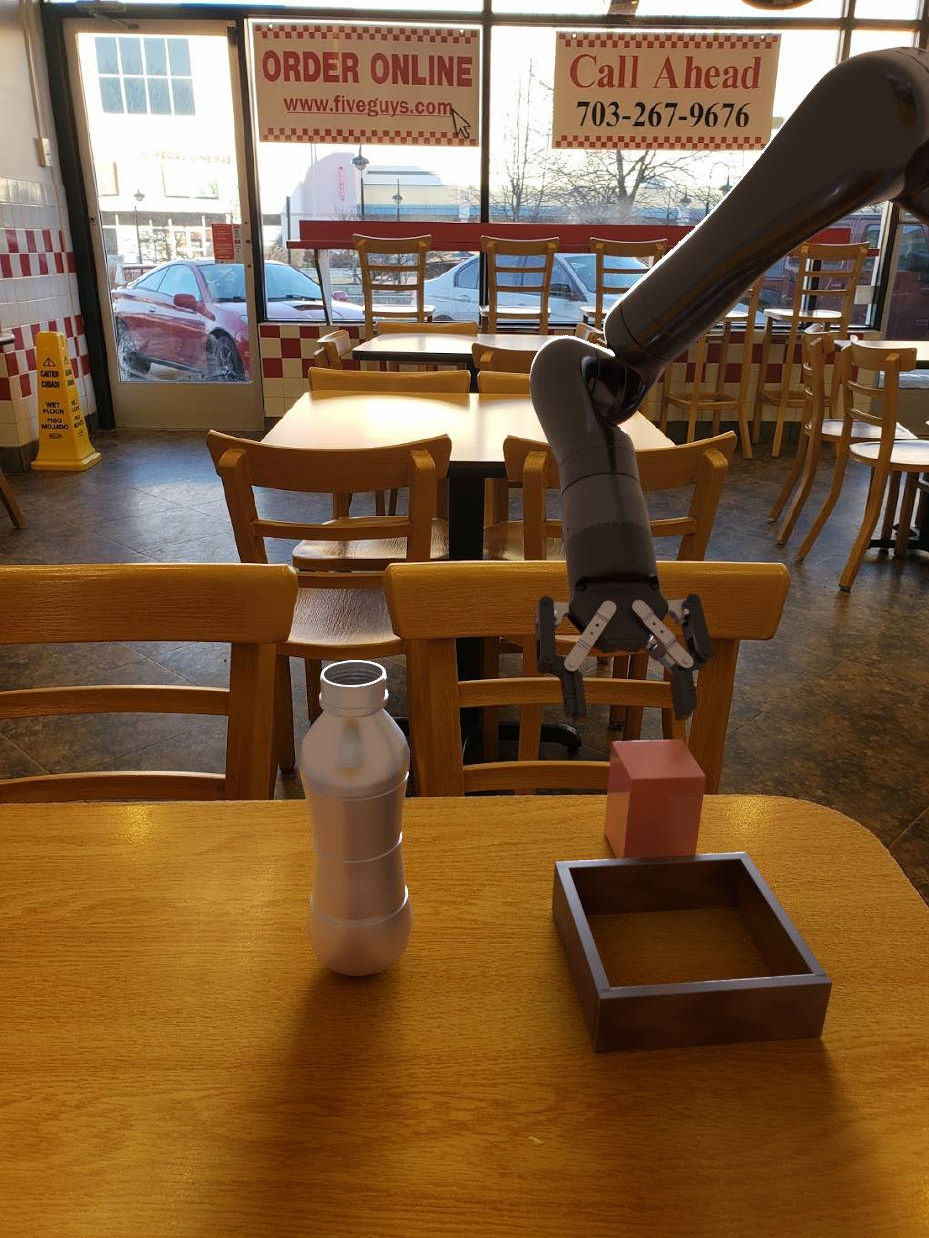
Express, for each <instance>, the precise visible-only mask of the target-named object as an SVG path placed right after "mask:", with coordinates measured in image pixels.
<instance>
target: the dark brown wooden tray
mask: <svg viewBox="0 0 929 1238" xmlns="http://www.w3.org/2000/svg"><path fill="white" fill-rule="evenodd" d="M552 883H553V884H552V897H551V898H552V900H551V912H552V916H553V918H554V919H553V920H554V923H555V925H556V929H557V932H558V935H559V938H560V942H561V945H562V949H563V951H564V952H563V953H564V956H565V958H566V961H567V965H568V968H569V971H570V975H571V978H572V981H573V985H574V988H575V991H576V995H577V998H578V1001H579V1004H580V1008H581V1011H582V1014H583V1017H584V1021H585V1025H586V1027H587V1031H588V1034H589V1037H590V1040H591V1044H592V1047H593V1051H594V1053H595V1054H604V1053H619V1052H633V1051H644V1050H645V1051H646V1050H655V1049H656V1050H658V1049H671V1048H672V1049H673V1048H683V1047H685V1048H686V1047H698V1046H699V1047H700V1046H709V1045H710V1046H713V1045H724V1044H738V1043H751V1042H752V1043H753V1042H764V1041H765V1042H766V1041H777V1040H792V1039H805V1038H813V1037H814V1038H817V1037H822V1036H823V1035H822V1034H823V1030H824V1025H825V1021H826V1016H827V1011H828V1006H829V1001H830V997H831V991H832V987H833V981H832V980H831V979H830V977H829V976H828V974H827V973H826V971H825V970H824V969H823V966H822V965H821V964H820V962H819V961H818V959H817V958H816V957H815V954H814V953H813V951H812V950H811V949H810V947H809V945H808V944H807V942H806V941H805V939H804V938H803V936H802V934H801V933H800V932H799V930H798V929H797V927H796V925H795V923H794V922H793V921H792V920H791V919H792V918H790V916H789V914H788V913H787V912H786V910H785V908H784V907H783V906H782V904H781V902H780V901H779V899H778V897H777V896H776V895H775V893H774V892H773V891H772V889H771V887H770V886H769V884H768V883H767V881H766V880H765V878H764V876H763V875H762V873H761V872H760V871H759V869H758V867H757V866H756V864H755V863H754V860H753V859H752V858H751V856H750V854H749V853H748V852H747V851H741V852H740V851H739V852H726V853H725V852H724V853H723V852H721V853H703V854H701V853H700V854H696V855H682V856H662V857H643V858H624V859H616V858H608V859H607V858H605V859H587V860H568V861H555V862H554V870H553V882H552ZM725 907H733V908H734V910H735V912H736V914H737V916H738V917H739V919H740V921H741V922H742V924H743V926H744V928H745V930H746V931H747V933H748V935H749V936H750V938H751V939H752V941H753V943H754V945H755V947H756V949H757V950H758V951H759V953H760V956H761V957H762V959H763V960H764V962H765V964H766V966H767V967H768V969H769V971H770V972H771V974H772V976H769V977H754V978H753V977H752V978H740V979H739V978H737V979H724V980H708V981H696V982H695V981H694V982H681V983H678V982H677V983H666V984H665V983H664V984H651V985H650V984H649V985H635V986H633V985H632V986H620V987H611V985H610V982H609V980H608V977H607V974H606V971H605V967H604V966H603V963H602V960H601V957H600V954H599V950H598V948H597V944H596V943H595V939H594V936H593V934H592V931H591V928H590V925H589V923H588V920H587V916H588V915H590V916H591V915H606V914H607V915H608V914H623V913H624V914H625V913H636V912H637V913H639V912H657V911H673V910H674V911H675V910H690V909H691V910H692V909H708V908H725Z"/></svg>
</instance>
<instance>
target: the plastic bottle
mask: <svg viewBox="0 0 929 1238" xmlns="http://www.w3.org/2000/svg"><path fill="white" fill-rule="evenodd" d="M318 703H319V707H320V708H321V709H322V710H323V711H322V713H320V715H319V716H318V717H317V719H316V720H315V721H314V722H313V723H312V724H311V727H310V728H309V730H308V731H307V733H306V734H305V736H304V737H303V738H302V740H301V744H300V748H299V752H298V757H297V763H298V770H299V775H300V779H301V783H302V788H303V792H304V797H305V801H306V807H307V810H308V815H309V826H310V834H311V838H312V840H311V843H312V850H313V863H312V864H313V865H312V884H311V885H312V887H311V895H310V899H309V904H308V913H307V921H306V929H307V935H308V939H309V942H310V946H311V950H312V951H313V953H314V956H315V957H316V958H317V959H318V960H319V962H321V963H322V964H323V965H324V966H325V967H327V968H328V969H329V970H331V971H332V972H335V973H338V974H339V975H344V976H350V977H364V976H369V975H374V974H378V973H380V972H383V971H385V970H386V969H388V968H390V967H391V966H392V965H394V964H395V963H396V962H397V961H398V960H399V959H400V957H402V955H403V954H404V953H405V952H406V950H407V948H408V946H409V943H410V939H411V935H412V934H411V933H412V930H413V924H414V916H413V915H414V914H413V910H412V904H411V899H410V895H409V891H408V888H407V885H406V877H405V875H406V874H405V867H404V866H405V865H404V857H403V850H402V844H403V843H402V841H403V840H402V839H403V836H402V835H403V822H404V821H403V818H404V807H405V806H404V805H405V798H406V792H407V786H408V779H409V770H410V761H411V750H410V747H409V744H408V740H407V738H406V736H405V733H404V732H403V730H402V729H401V728H400V726H399V725H398V724H397V723H396V721H395V720H394V718H392V716H391V715H390V714H389V713H388V711H386V710H385V709H384V708H385V707H386V706H387V704H388V703H389V693H388V690H387V673H386V668H384V667H383V666H382V665H380V664H378V663H376V662H372V661H366V660H345V661H339V662H336V663H332V664H330V665H328V666H327V667H325V668H324V669H322V671H321V674H320V693H319V696H318Z"/></svg>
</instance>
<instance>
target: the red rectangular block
mask: <svg viewBox="0 0 929 1238" xmlns="http://www.w3.org/2000/svg"><path fill="white" fill-rule="evenodd" d="M706 779H707V776H706V774H705V773H704V771H703V770H702V768H701V766H700V764H698V762H697V760H696V759H695V758H694V757H693V754H692V753H691V751H690V750H689V748H688V747H687V745H686V744H685V743H684V741H683V740H682V739H655V740H654V739H653V740H652V739H651V740H625V741H624V740H623V741H621V740H620V741H611V748H610V757H609V769H608V780H607V793H606V802H605V814H604V822H603V823H604V826H603V831H604V834H605V837H606V838H607V841H608V844H609V845H610V848H611V850H612V852H613V855H614V857H615V859H624V858H643V857H662V856H682V855H697V848H698V841H699V840H698V839H699V834H700V833H699V832H700V825H701V818H702V817H701V816H702V809H703V801H704V794H705V787H706V781H707V780H706Z"/></svg>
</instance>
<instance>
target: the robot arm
mask: <svg viewBox="0 0 929 1238" xmlns="http://www.w3.org/2000/svg"><path fill="white" fill-rule="evenodd" d="M885 202H890V203H891V204H893V205H895V206H897V207H898V208H900V209H901V210H903V211H905V212H906V213H908V214H909V215H911V217H913V218H915V219H917V220H918V221H919V222H920V223H922V224H924V225H925V226H926V227H928V228H929V50H928V49H924V48H921V47H919V46H895V47H889V48H884V49H878V50H877V49H876V50H872V51H865V52H862V53H859V54H856V55H853V56H850V57H847V58H846V59H844V60H842V61H841V62H839V63H837V64H835V65H833V66H832V67H831V68H829V69H828V70H827V71H825V72H824V73H823V74H822V75H821V76H820V78H818V80H817V81H816V82H815V83H814V84H813V85H812V86H811V88H809V90H808V91H807V93H806V94H805V95H804V96H803V98H802V99H801V100H800V102H798V104H797V105H796V106H795V108H794V109H793V110H792V111H791V113H790V114H789V116H788V117H787V118H786V119H785V121H783V124H782V125H781V126H780V128H779V129H778V130H777V131H776V133H775V134H774V135H773V137H772V139H770V140H769V142H768V143H767V145H766V146H765V148H764V149H763V150H762V151H761V153H760V154H759V155H758V156H757V158H756V159H755V161H754V162H753V163H752V164H751V166H749V168H748V169H747V170H746V171H745V172H744V174H743V175H742V176H741V177H740V179H739V180H738V181H737V182H736V183H735V184H734V186H732V188H731V189H730V191H729V192H728V193H727V194H726V195H724V197H723V199H722V200H721V201H720V202H719V203H717V205H716V206H715V207H714V209H712V210H711V211H710V213H709V214H707V216H706V217H705V218H704V219H703V220H702V221H701V222H700V223H699V224H698V225H696V226H695V228H694V229H693V230H691V232H689V234H687V235H686V236H685V237H684V238H683V239H682V240H681V241H679V242H678V244H677V245H676V246H675V247H674V248H673V249H671V250H670V251H669V252H668V253H667V254H666V255H665V256H664V257H662V259H660V260H659V261H658V262H657V263H656V264H655V265H654V266H653V267H652V268H651V269H650V270H649V271H648V272H647V273H645V274H644V276H643V277H642V278H640V279H639V280H638V281H637V282H636V283H635V284H634V285H633V286H632V287H631V288H630V289H629V290H628V291H627V292H626V293H624V295H622V297H620V298H619V299H618V300H617V301H616V302H615V303H614V305H612V307H611V308H610V309H609V311H608V312H607V314H606V316H605V319H604V323H603V335H604V340H605V342H606V345H607V347H608V348H609V349H607V348H604V347H602V346H598V345H596V344H593V343H590V342H589V341H585V340H583V339H580V338H577V337H574V336H568V335H565V336H564V335H563V336H556V337H554V338H552V339H550V340H548V341H546V342H545V343H544V344H543V345H542V346H541V348H540V349H539V350H538V352H537V353H536V355H535V357H534V359H533V361H532V364H531V368H530V373H529V395H530V398H531V399H530V400H531V404H532V406H533V410H534V412H535V415H536V418H537V419H538V422H539V424H540V426H541V427H540V428H541V429H542V431H543V434H544V436H545V438H546V441H547V443H548V445H549V448H550V450H551V452H552V454H553V456H554V458H555V460H556V463H557V472H558V473H557V474H558V482H559V490H560V497H561V531H562V532H561V540H562V544H563V546H564V554H565V564H566V572H567V579H568V586H569V587H568V588H569V595H570V598H569V601H554V599H553V598H552V597H551V596H548V595H544V596H542V597H541V598H540V599H539V601H538V603H537V606H536V608H535V610H534V613H533V614H534V617H533V618H534V634H535V635H534V641H535V644H534V645H535V663H536V664H535V667H536V671H537V672H538V673H539V674H540V675H547V674H548V675H552V676H555V677H556V678H557V679H558V680H559V682H560V688H561V697H562V705H563V712H564V714H565V715H566V717H567V718H571V719H572V724H573V725H576V724H577V725H579V724H580V725H581V724H584V722H585V721H586V719H587V716H588V710H587V701H586V693H585V685H584V677H583V676H584V675H583V672H580V671H579V668H580V667H581V666H582V664H583V662H584V661H585V659H586V658H587V657H588V655H589V654H590V652H591V650H592V649H593V648H594V649H596V650H597V651H600V652H601V654H612V653H615V652H619V651H621V652H624V653H639V651H640V650H643V651H645V653H647V655H648V656H649V657H650V658H651V659H652V660H653V661H657V662H659V663H660V664H661V665H662V666H663V667H664V669H666V671H668V673H669V674H670V675H671V677H670V678H669V679H668V682H669V687H670V692H671V693H670V694H671V699H672V705H673V713H674V718H675V720H676V722H680V721H681V722H682V721H683V722H684V721H687V720H689V718H690V717H691V716H692V715H693V712H694V711H695V709H697V705H698V697H697V692H696V685H695V678H694V672H695V671H701V670H702V669H703V668H704V667H705V666H706V665H707V664H708V663H709V662H710V661H711V660H712V659H713V657H714V650H713V646H712V642H711V638H710V634H709V630H708V626H707V622H706V617H705V614H704V613H705V612H704V610H703V609H704V608H703V605H702V601H701V597H699V595H698V594H696V593H689V594H688V595H687V596H686V598H680V599H669V600H667V599H666V598H665V596H664V595H663V593H662V591H661V588H660V577H659V572H658V571H659V570H658V565H657V559H656V558H657V557H656V552H655V547H654V540H653V534H652V529H651V522H650V517H649V510H648V506H647V503H646V500H645V497H644V494H643V490H642V489H643V488H642V485H641V480H640V473H639V467H638V461H637V454H636V449H635V445H634V442H633V440H632V438H631V436H630V435H629V434H628V432H627V431H625V430H624V429H623V428H622V427H620V425H622V424H624V423H625V422H627V421H629V420H630V419H632V417H633V416H635V414H636V413H637V411H638V410H639V409H640V407H641V406H642V404H643V403H644V401H645V400H646V399H647V397H648V396H649V394H650V392H651V391H652V389H653V388H654V386H656V384H657V383H658V381H659V380H660V378H661V377H662V375H663V374H664V372H665V370H666V369H667V368H668V366H669V365H670V364H671V363H673V361H676V359H677V358H679V357H680V356H681V355H682V354H684V353H685V352H686V351H687V350H688V349H690V348H691V347H693V346H694V345H695V344H696V343H698V341H700V340H701V339H702V338H704V337H705V336H706V335H707V334H708V333H709V332H711V331H712V330H713V329H714V328H715V327H716V326H718V324H719V323H721V322H722V320H724V319H725V317H727V316H728V315H729V314H730V313H731V311H733V310H734V309H735V307H736V306H737V305H738V304H739V303H740V302H741V300H742V299H744V297H745V296H746V295H747V293H749V291H750V290H751V289H752V288H753V287H754V286H755V285H756V284H757V283H758V282H759V281H760V280H761V278H763V276H765V275H766V274H767V273H768V272H769V271H770V270H771V269H773V267H774V266H776V265H777V264H778V263H779V262H780V261H782V260H783V259H784V258H786V257H787V256H788V255H789V254H790V253H792V252H793V251H795V250H796V249H797V248H799V247H800V246H802V245H803V244H805V243H806V242H807V241H809V240H811V239H812V238H814V237H815V236H817V235H819V234H821V233H822V232H823V231H826V230H828V229H829V228H831V227H832V226H834V225H836V224H838V223H839V222H841V221H843V220H845V219H846V218H847V217H849V216H851V215H853V214H854V213H857V212H858V211H860V210H862V209H864V208H867V207H871V206H875V205H876V206H877V205H880V204H883V203H885ZM666 616H670V617H671V618H672V619H673V622H674V623H675V625H676V626H679V627H680V629H681V633H682V636H683V641H684V644H685V648H684V647H683V646H682V645H681V644H680V643H679V642H678V641H677V637H676V636H675V634H674V633H673V632H672V631H671V630H670V629H669V628H668V627H667V626H666V625H665V624H664V623H663V621H664V620H665V618H666ZM566 617H567V619H568V621H569V622H570V624H572V625H573V627H575V629H576V630H577V631H578V632H579V633H580V634H581V635H580V637H579V638H578V640H577V642H576V643H575V645H574V646H573V647H572V649H571V651H570V652H569V654H568V655H567V657H566V656H562V655H559V654H557V645H556V644H557V643H556V641H557V640H556V629H557V628H559V627H560V625H561V623H562V621H563V619H564V618H566Z"/></svg>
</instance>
